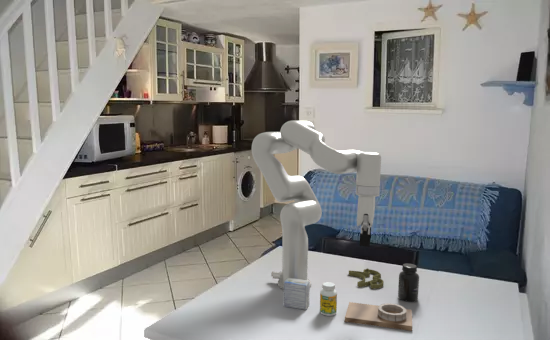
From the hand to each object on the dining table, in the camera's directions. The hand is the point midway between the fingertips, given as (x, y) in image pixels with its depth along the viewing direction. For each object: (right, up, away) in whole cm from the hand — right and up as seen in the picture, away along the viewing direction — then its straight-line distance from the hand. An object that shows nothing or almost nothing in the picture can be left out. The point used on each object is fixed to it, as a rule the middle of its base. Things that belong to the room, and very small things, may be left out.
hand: (365, 242), depth 147 cm
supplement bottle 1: (-12, -23, -1) cm, 26 cm away
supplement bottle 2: (+17, -22, +11) cm, 30 cm away
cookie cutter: (+7, -20, +28) cm, 35 cm away
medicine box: (-22, -22, +3) cm, 32 cm away
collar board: (+3, -23, -5) cm, 24 cm away
